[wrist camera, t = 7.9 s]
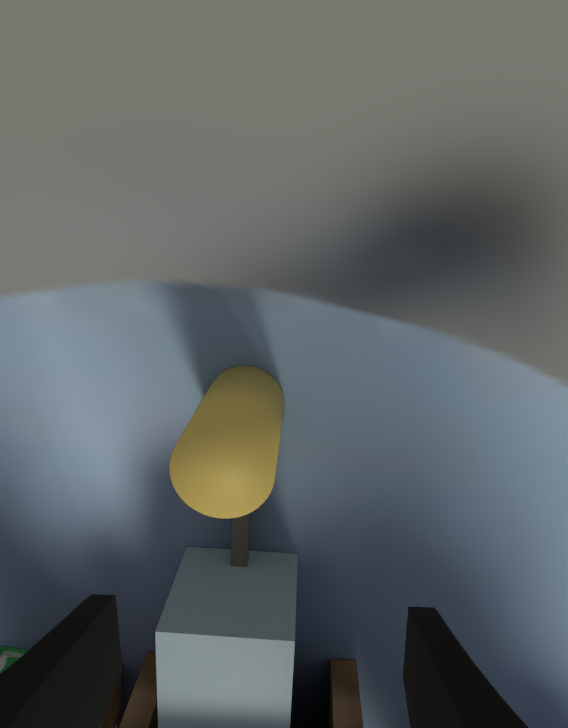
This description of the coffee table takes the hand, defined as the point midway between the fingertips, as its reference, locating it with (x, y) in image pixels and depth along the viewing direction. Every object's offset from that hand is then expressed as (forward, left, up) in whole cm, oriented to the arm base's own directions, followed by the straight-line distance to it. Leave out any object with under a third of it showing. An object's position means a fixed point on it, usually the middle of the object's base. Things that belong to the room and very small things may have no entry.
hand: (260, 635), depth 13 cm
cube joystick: (+2, +3, -10) cm, 10 cm away
